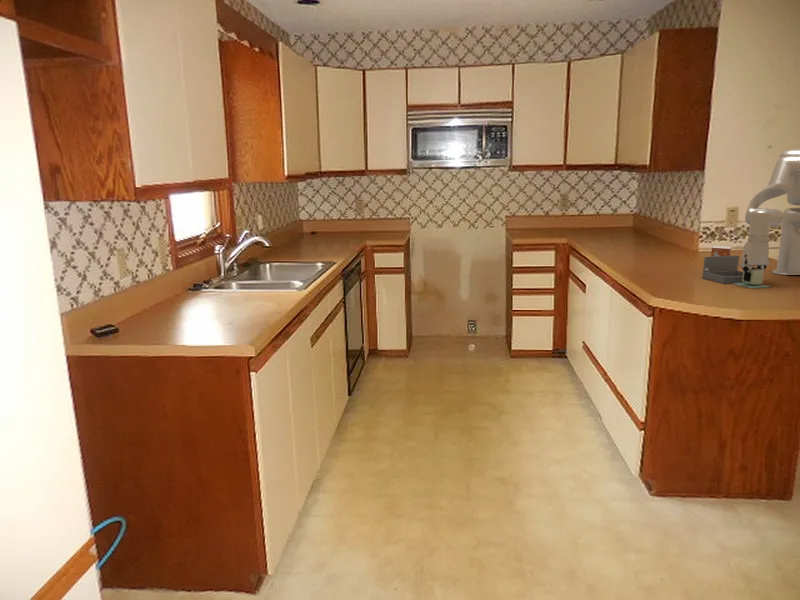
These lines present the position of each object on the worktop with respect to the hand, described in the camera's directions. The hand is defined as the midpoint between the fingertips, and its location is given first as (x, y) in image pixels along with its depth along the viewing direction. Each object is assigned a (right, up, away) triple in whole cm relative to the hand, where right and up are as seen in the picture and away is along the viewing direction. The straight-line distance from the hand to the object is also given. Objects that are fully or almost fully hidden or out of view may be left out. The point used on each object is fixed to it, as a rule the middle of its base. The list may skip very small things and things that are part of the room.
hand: (752, 280), depth 261 cm
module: (0, -1, 0) cm, 1 cm away
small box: (0, +4, +28) cm, 28 cm away
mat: (0, -2, +1) cm, 2 cm away
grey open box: (-3, 0, +12) cm, 13 cm away
